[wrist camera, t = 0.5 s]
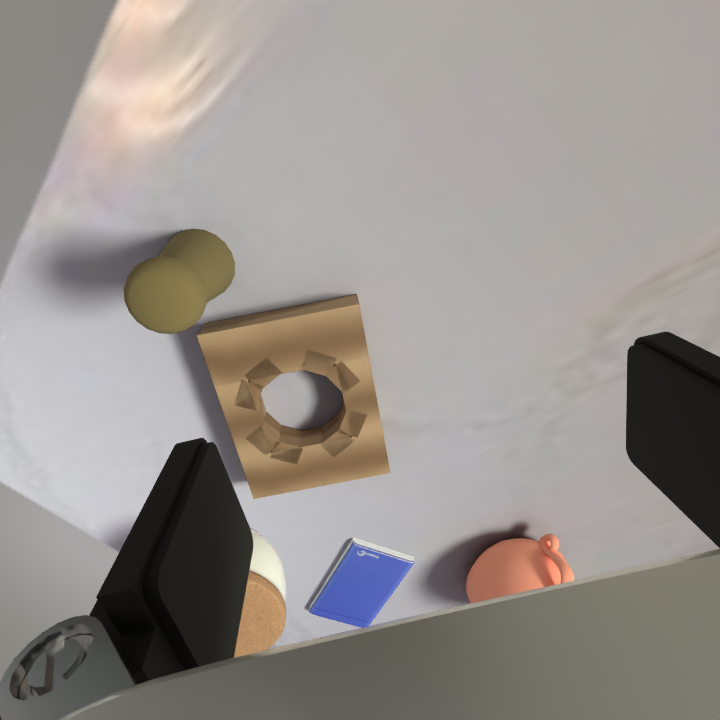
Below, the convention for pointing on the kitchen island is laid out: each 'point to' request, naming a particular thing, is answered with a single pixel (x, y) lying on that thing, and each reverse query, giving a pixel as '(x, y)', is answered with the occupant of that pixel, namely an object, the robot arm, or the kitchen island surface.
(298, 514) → the kitchen island surface
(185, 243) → the cork
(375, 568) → the hard drive
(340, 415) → the holder board
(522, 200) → the kitchen island surface
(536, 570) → the sugar bowl
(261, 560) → the lidded bowl
